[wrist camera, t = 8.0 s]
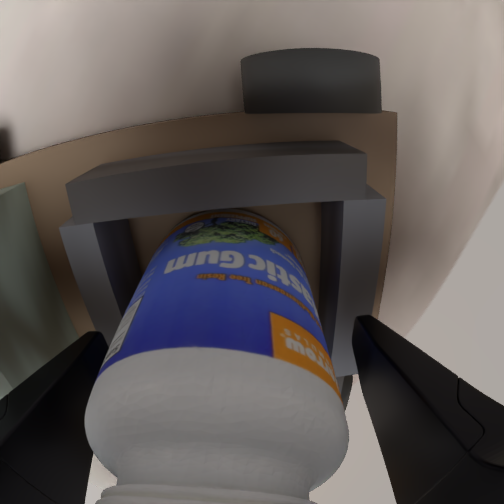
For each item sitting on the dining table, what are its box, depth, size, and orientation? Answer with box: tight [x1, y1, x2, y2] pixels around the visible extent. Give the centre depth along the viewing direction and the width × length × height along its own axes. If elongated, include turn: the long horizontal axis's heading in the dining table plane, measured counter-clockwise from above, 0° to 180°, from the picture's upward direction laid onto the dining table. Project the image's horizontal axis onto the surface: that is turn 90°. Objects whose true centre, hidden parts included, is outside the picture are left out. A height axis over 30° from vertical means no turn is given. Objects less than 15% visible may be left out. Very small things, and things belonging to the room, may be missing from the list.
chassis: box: [0, 48, 397, 411], centre depth 10 cm, size 14×20×6 cm
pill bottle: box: [85, 209, 349, 504], centre depth 7 cm, size 5×5×10 cm
